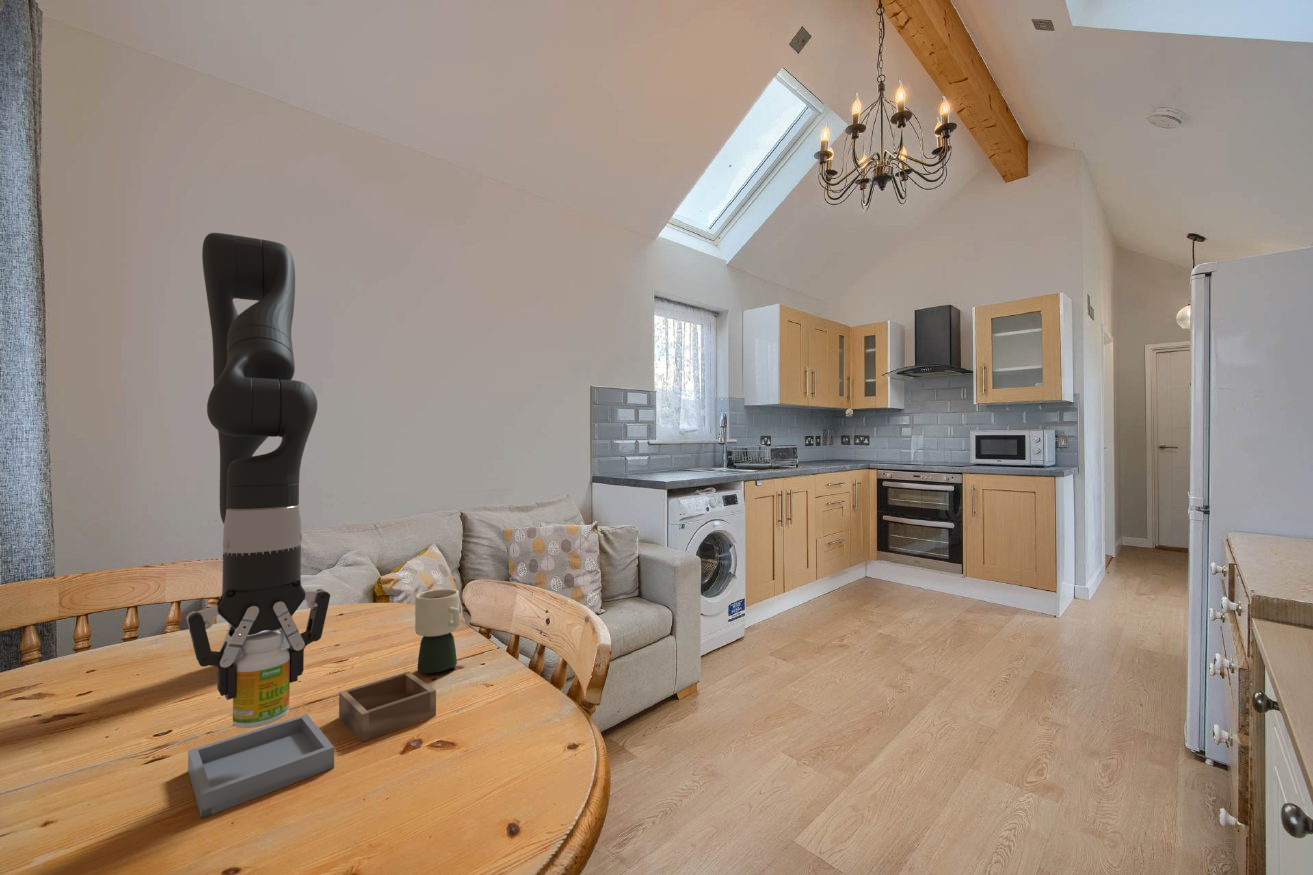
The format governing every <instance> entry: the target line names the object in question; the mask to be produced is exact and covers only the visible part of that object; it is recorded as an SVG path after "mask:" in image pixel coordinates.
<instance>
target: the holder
mask: <svg viewBox="0 0 1313 875" xmlns="http://www.w3.org/2000/svg"><path fill="white" fill-rule="evenodd" d="M338 695H339V696H338V718H339V719H340V720H341V722H343V724H345V726H346V727H348V729H349V730H350V731H351V732H352V734H354V736H356V737H357V739H358V740H359V741H360V742H361V743H364V742H366V741H369V740H373V739H375V738H379V737H380V736H383V735H386V734H389V733H391V732H394V731H396V730H401V729H403V728H405V727H408V726H411V725H414V724H416V723H419V722H421V721H425V720H427V719H430V718H432V717H433V718H434V717H435V716H437V689H435V688H434V687H432V686H430V685H429V684H428V683H426V682H424V681H423V680H422V679H420V678H419V677H417V676H416V675H414V674H413V673H412V672H410V671H406V672H403V673H400V674H396V675H394V676H393V675H392V676H390V677H386V678H383V679H380V680H376V681H373V682H368V683H366V684H362V685H360V686H356V687H353V688H350V689H346V690H342V691H339V692H338Z"/></svg>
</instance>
